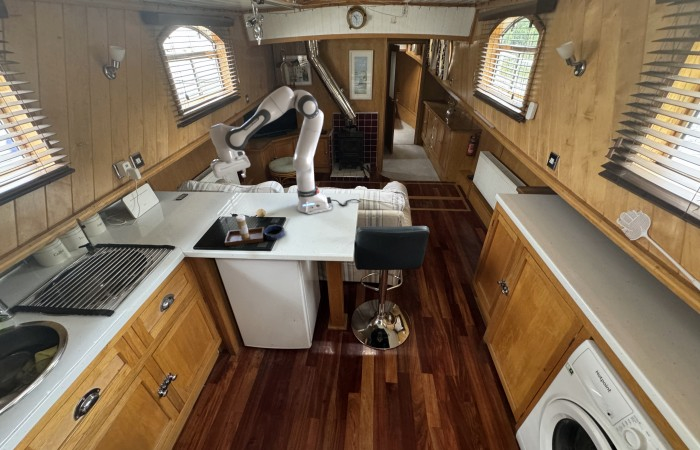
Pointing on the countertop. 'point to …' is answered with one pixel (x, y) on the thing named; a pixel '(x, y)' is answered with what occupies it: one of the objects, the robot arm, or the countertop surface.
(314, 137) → the robot arm
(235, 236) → the tray
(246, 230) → the sprinkles bottle
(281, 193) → the countertop surface
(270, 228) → the enamel pot
